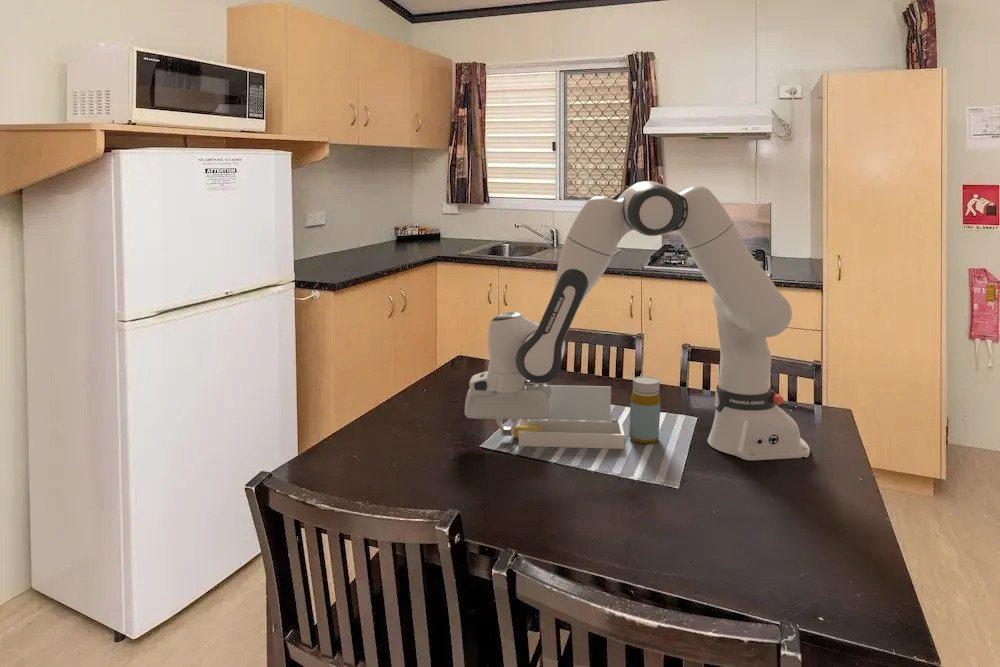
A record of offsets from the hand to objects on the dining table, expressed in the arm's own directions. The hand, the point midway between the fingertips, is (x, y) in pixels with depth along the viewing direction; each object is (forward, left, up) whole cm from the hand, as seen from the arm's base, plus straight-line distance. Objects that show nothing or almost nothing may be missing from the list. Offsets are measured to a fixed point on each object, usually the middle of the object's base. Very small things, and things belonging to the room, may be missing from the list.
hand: (507, 435), depth 169 cm
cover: (-15, -6, +7) cm, 17 cm away
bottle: (-33, -3, -2) cm, 33 cm away
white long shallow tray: (-15, -1, -1) cm, 15 cm away
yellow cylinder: (-5, 0, 0) cm, 5 cm away
